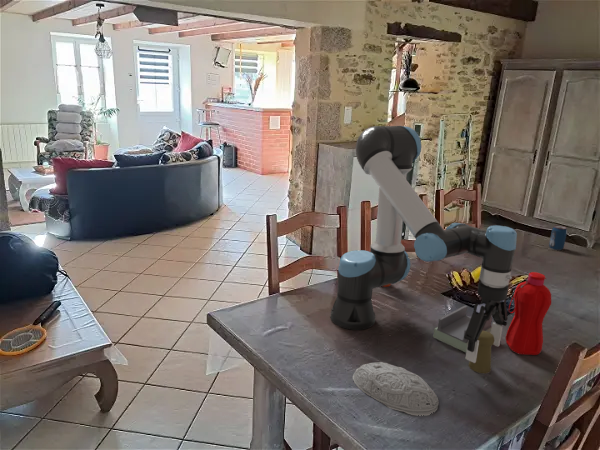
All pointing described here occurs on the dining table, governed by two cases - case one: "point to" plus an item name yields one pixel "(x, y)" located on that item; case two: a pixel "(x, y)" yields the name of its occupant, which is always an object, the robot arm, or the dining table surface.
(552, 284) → the dining table surface
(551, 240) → the soda can
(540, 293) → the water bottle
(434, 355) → the dining table surface
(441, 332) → the grey tray
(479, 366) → the olive pepper shaker
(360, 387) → the embossed oval dome
